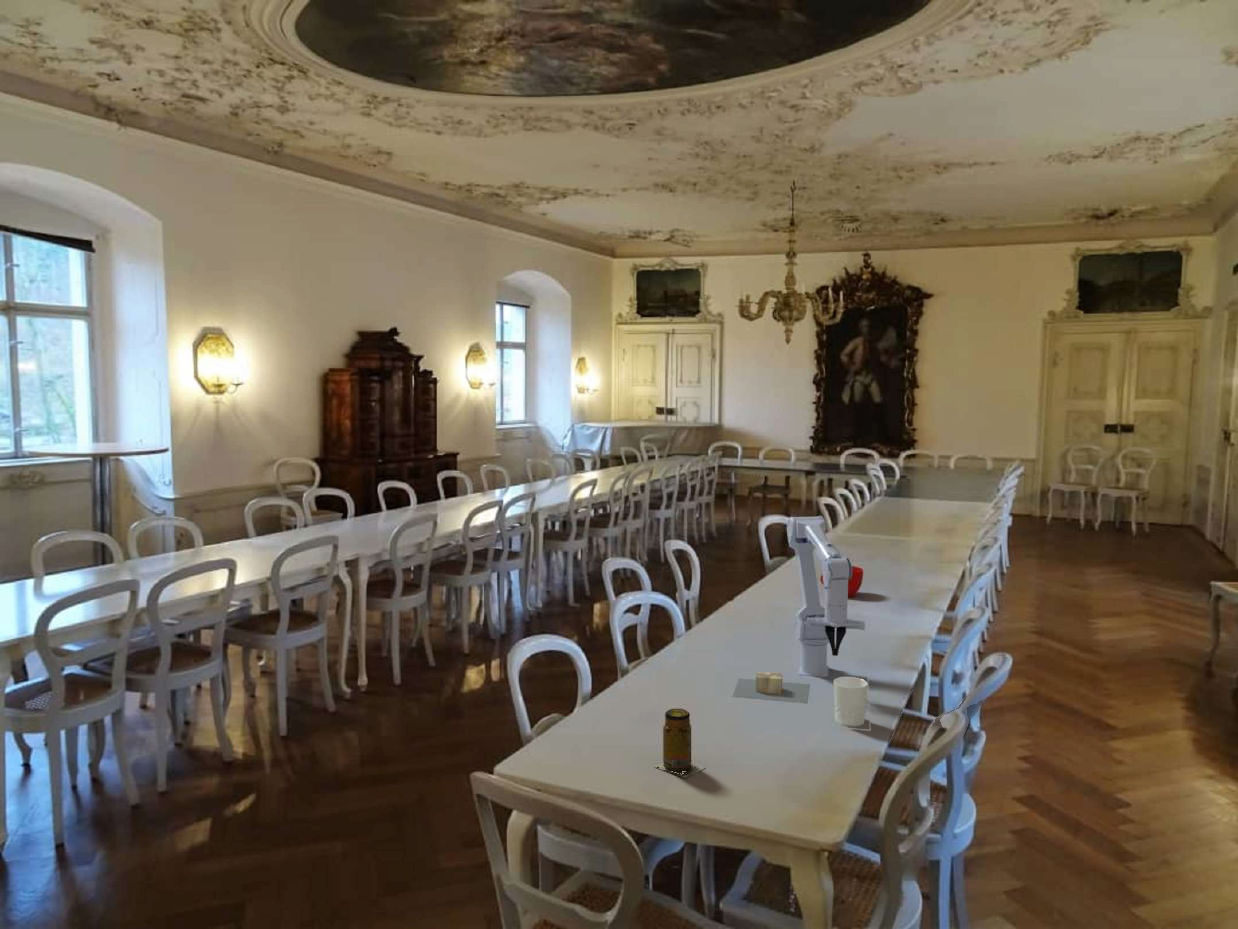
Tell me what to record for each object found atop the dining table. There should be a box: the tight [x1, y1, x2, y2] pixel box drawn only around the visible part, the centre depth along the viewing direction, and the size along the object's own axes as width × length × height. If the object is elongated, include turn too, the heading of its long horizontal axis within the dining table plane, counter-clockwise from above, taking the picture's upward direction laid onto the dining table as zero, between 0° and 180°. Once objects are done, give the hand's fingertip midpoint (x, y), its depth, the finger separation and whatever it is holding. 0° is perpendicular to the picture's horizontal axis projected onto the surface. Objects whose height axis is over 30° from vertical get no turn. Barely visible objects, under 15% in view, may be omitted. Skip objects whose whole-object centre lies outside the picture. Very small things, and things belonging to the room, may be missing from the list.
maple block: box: [755, 671, 783, 694], centre depth 233 cm, size 4×4×6 cm
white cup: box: [833, 676, 869, 727], centre depth 212 cm, size 8×8×10 cm
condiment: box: [653, 707, 707, 779], centre depth 188 cm, size 7×8×12 cm
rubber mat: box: [732, 677, 811, 704], centre depth 233 cm, size 14×19×1 cm
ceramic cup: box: [819, 565, 864, 598], centre depth 332 cm, size 13×17×10 cm
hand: (835, 654), depth 231 cm, fingers closed
